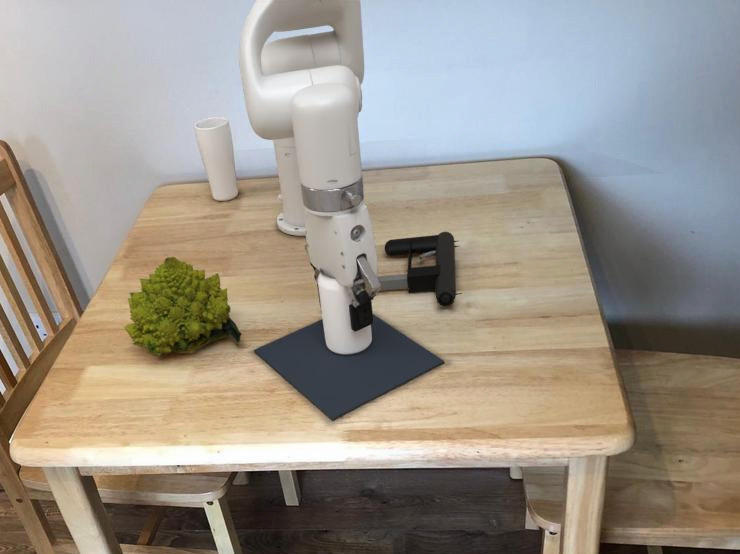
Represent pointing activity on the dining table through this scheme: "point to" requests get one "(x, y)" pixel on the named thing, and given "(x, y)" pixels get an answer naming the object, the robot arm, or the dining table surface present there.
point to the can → (340, 317)
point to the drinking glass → (217, 156)
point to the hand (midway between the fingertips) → (346, 315)
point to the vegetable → (179, 310)
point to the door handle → (425, 267)
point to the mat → (347, 366)
